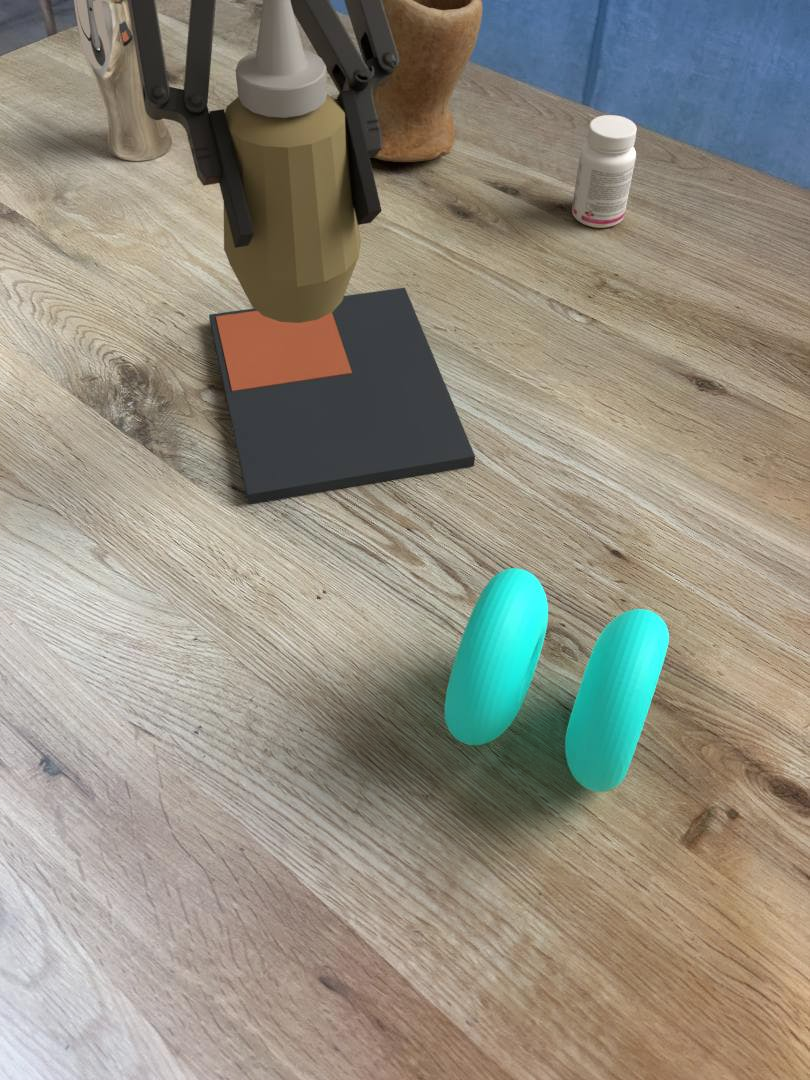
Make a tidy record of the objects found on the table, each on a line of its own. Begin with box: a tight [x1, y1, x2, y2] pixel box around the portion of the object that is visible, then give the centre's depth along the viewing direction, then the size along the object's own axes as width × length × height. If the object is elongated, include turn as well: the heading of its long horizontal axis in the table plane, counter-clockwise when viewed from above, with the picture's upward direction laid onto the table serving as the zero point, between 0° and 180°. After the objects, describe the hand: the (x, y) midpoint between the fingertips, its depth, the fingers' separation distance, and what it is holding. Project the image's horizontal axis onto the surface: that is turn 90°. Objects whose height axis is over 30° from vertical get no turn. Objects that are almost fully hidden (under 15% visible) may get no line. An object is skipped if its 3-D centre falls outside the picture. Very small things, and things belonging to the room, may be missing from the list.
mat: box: [208, 287, 476, 505], centre depth 79 cm, size 20×16×1 cm
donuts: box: [444, 567, 670, 793], centre depth 57 cm, size 10×10×10 cm
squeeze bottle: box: [223, 0, 362, 323], centre depth 58 cm, size 8×8×18 cm
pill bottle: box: [571, 114, 637, 229], centre depth 92 cm, size 5×5×8 cm
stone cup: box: [372, 0, 483, 163], centre depth 98 cm, size 15×12×15 cm
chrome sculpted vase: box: [73, 0, 173, 162], centre depth 96 cm, size 7×7×15 cm
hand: (307, 228), depth 57 cm, fingers closed on squeeze bottle, 6 cm apart
